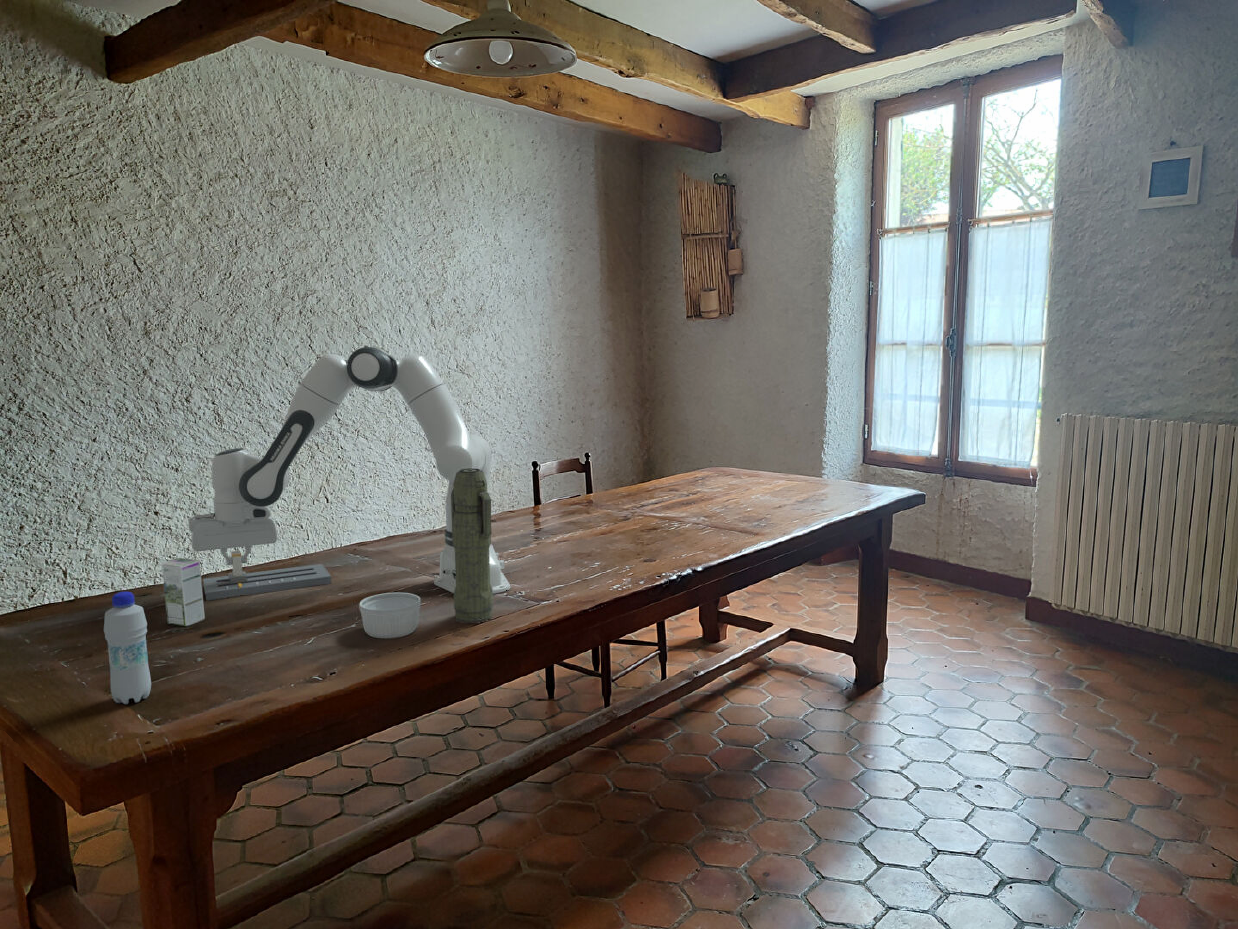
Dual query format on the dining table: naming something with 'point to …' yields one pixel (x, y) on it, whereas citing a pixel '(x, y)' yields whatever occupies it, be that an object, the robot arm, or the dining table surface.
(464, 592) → the thermos
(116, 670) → the bottle
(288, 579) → the console
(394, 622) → the ramekin
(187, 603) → the syrup box
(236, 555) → the fader
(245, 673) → the dining table surface
